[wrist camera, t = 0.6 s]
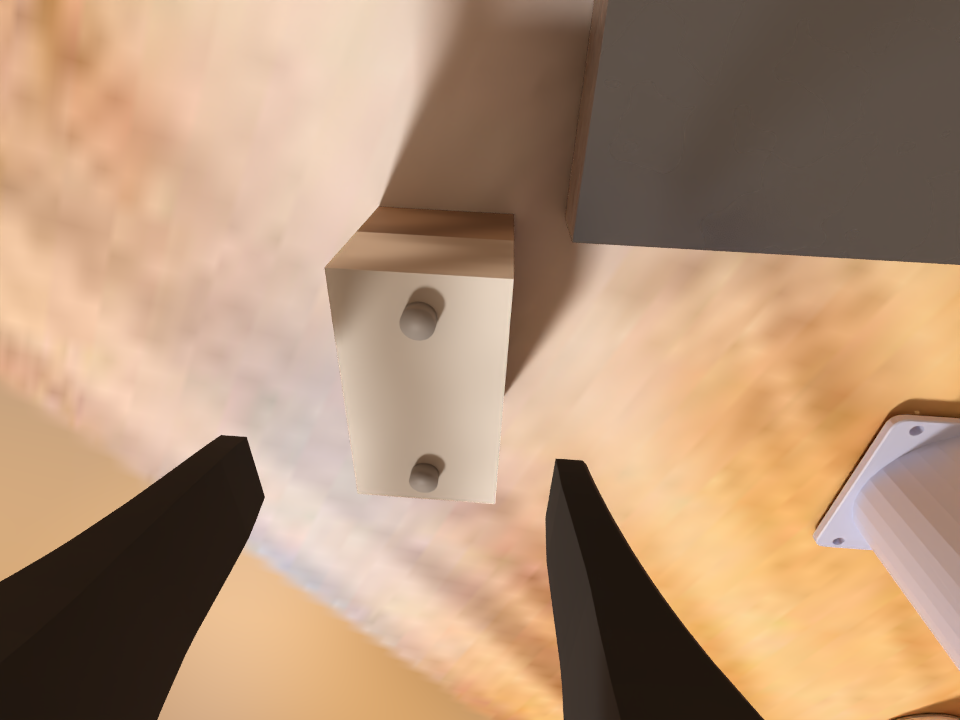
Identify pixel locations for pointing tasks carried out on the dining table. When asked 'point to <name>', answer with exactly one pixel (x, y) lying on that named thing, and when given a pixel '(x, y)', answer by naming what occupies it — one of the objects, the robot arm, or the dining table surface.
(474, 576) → the dining table surface
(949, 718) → the can
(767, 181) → the stand
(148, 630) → the robot arm
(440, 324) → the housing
